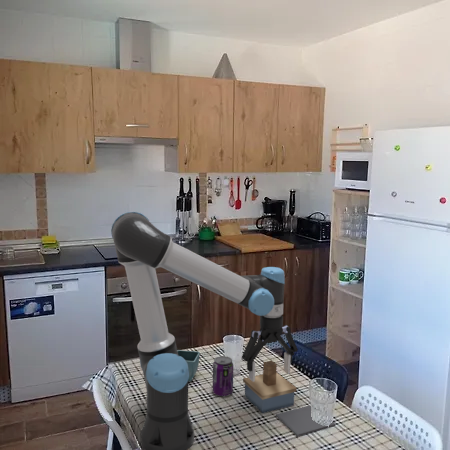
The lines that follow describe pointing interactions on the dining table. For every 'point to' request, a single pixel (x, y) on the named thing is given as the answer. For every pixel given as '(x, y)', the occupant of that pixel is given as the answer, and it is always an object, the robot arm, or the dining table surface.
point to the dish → (269, 401)
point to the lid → (269, 382)
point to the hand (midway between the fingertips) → (269, 376)
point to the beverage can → (222, 376)
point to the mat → (300, 421)
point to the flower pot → (190, 361)
